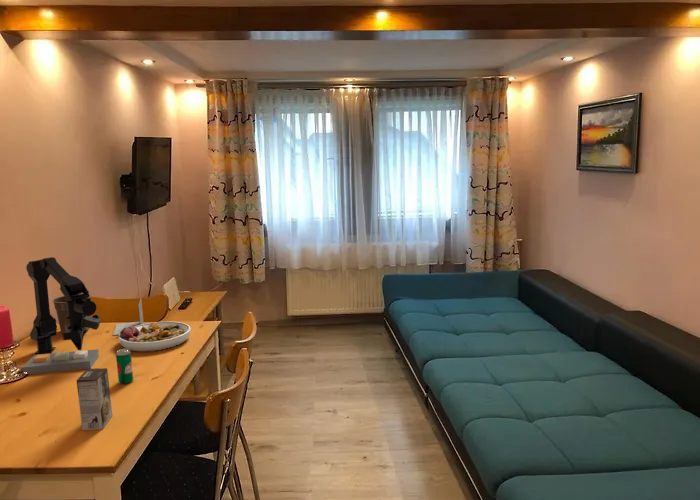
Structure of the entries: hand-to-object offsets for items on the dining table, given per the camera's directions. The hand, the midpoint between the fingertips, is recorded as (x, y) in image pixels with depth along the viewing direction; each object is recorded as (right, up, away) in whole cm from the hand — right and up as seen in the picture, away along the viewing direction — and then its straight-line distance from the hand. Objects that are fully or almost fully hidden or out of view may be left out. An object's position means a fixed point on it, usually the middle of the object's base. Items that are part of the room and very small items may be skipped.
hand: (79, 350), depth 225 cm
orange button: (-14, -5, -2) cm, 15 cm away
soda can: (+26, -8, -19) cm, 33 cm away
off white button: (0, -4, +1) cm, 4 cm away
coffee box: (+30, -14, -51) cm, 60 cm away
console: (-7, -6, 0) cm, 9 cm away
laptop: (+2, +2, +45) cm, 45 cm away
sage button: (-7, -4, -1) cm, 8 cm away
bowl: (+22, -1, +25) cm, 33 cm away
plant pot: (-23, +1, +45) cm, 50 cm away
